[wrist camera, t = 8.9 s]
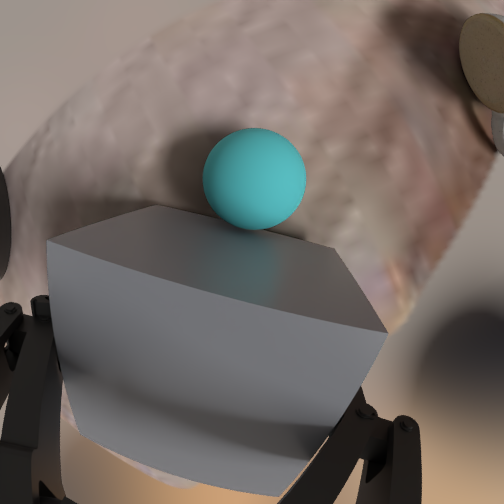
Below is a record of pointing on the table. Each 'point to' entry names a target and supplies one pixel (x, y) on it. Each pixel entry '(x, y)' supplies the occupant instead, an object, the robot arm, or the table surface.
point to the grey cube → (207, 344)
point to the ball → (254, 178)
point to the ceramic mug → (486, 66)
